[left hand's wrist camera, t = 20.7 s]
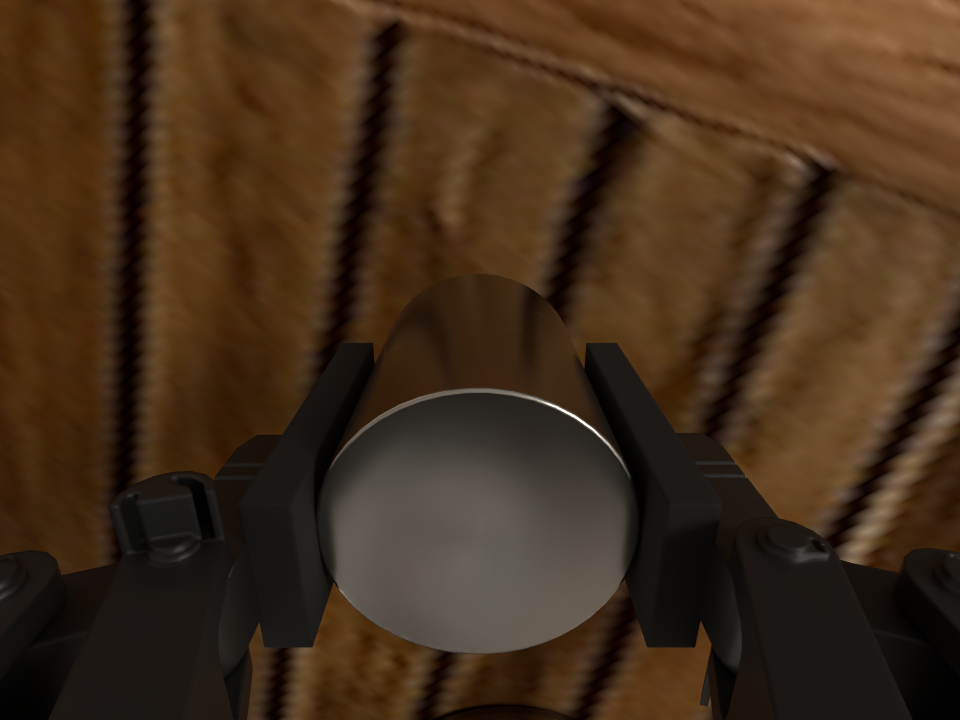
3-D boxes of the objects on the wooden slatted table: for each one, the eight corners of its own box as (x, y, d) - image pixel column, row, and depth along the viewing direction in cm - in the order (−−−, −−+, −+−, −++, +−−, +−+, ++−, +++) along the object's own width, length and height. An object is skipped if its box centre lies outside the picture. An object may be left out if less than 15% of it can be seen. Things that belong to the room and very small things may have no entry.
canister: (440, 472, 17) (414, 692, 10) (349, 325, 15) (248, 474, 9) (600, 403, 16) (686, 593, 9) (524, 239, 14) (563, 329, 8)
